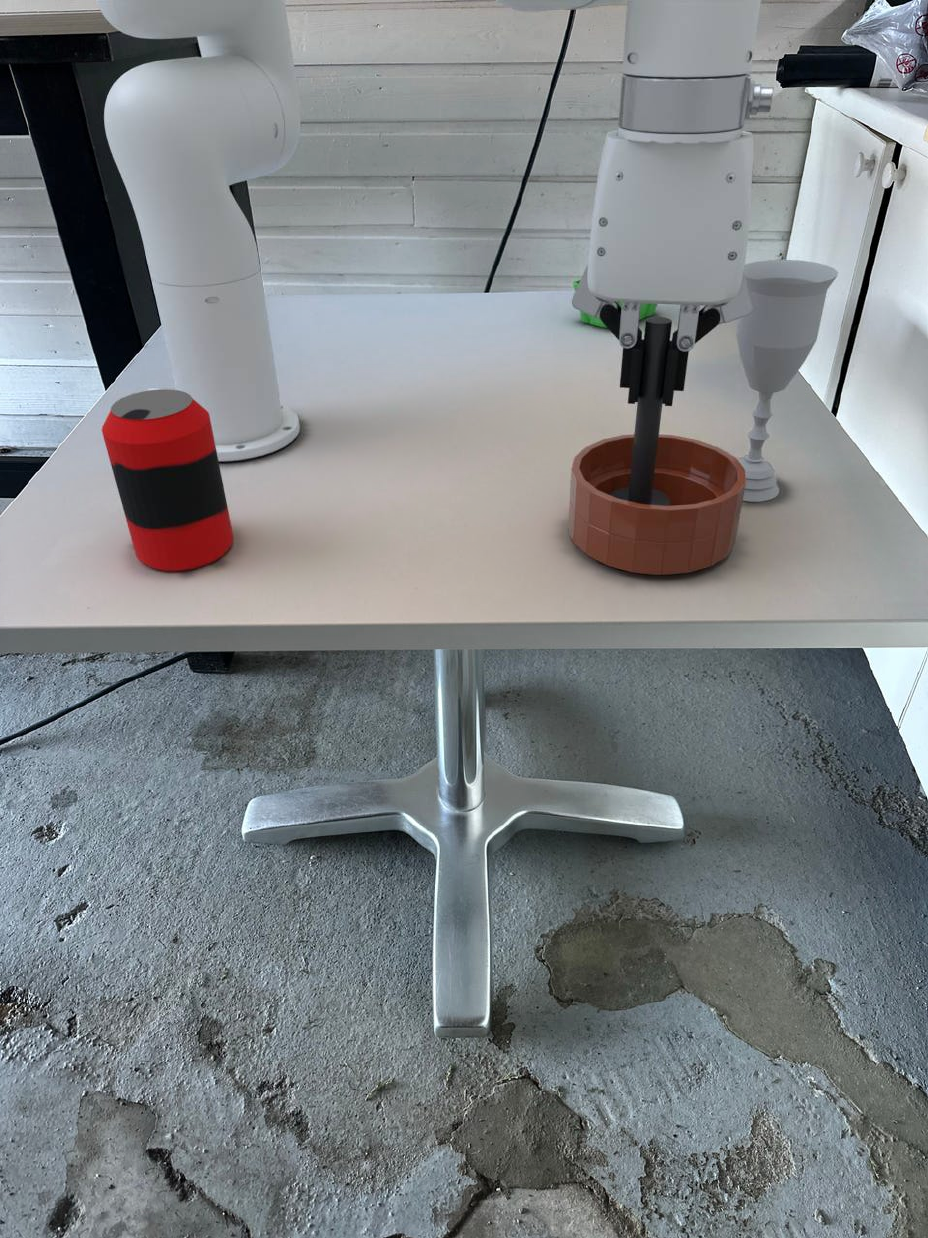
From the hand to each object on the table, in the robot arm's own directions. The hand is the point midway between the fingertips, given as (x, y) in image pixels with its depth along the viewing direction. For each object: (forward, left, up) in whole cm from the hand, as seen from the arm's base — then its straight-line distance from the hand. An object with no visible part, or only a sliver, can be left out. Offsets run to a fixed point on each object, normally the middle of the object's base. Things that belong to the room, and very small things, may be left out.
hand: (650, 396), depth 65 cm
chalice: (+9, +9, -11) cm, 17 cm away
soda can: (-35, -9, -11) cm, 38 cm away
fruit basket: (-5, +55, -12) cm, 57 cm away
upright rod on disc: (0, 0, -10) cm, 10 cm away
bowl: (+1, -1, -11) cm, 11 cm away
